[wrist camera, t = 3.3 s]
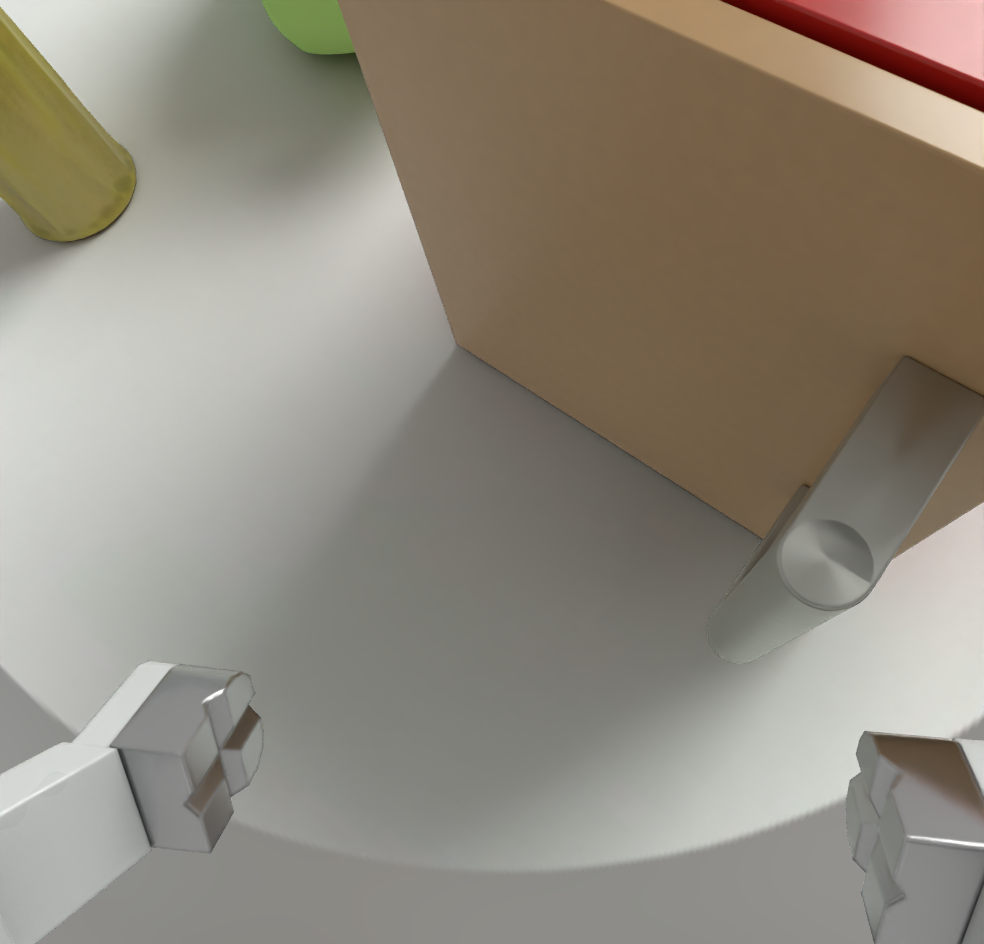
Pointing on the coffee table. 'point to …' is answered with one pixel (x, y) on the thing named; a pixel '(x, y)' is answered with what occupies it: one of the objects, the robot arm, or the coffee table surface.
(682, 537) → the coffee table surface
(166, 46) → the coffee table surface
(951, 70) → the cabinet
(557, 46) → the door
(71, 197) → the vase
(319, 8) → the teapot
